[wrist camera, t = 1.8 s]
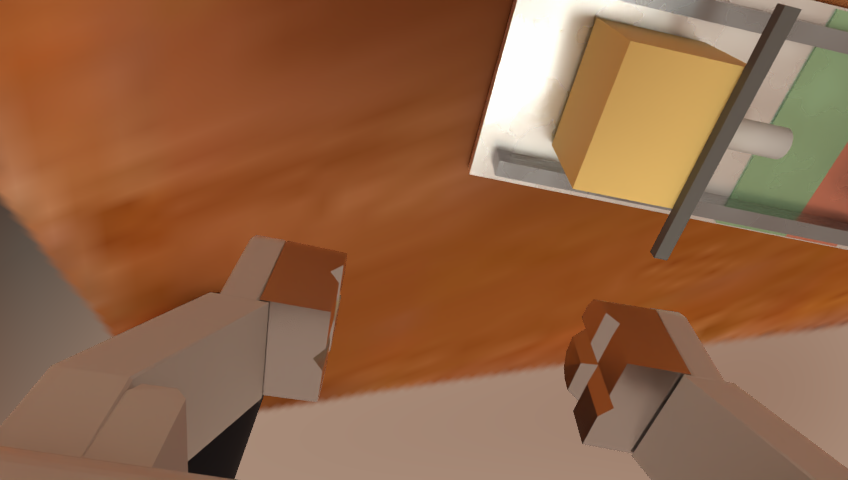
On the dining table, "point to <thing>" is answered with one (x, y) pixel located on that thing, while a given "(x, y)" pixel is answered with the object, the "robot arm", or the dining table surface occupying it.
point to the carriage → (664, 116)
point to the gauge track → (774, 104)
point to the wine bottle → (225, 448)
